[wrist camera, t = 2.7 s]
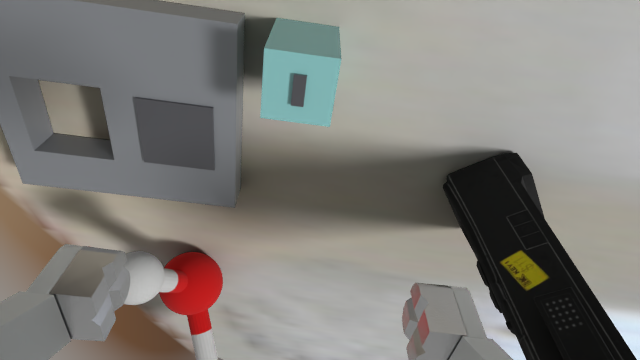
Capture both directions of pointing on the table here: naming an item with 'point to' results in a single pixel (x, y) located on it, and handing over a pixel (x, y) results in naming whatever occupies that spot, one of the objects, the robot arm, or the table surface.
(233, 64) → the outlet plate
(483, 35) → the table surface
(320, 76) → the block
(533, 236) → the portable radio
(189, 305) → the molecular model
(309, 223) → the table surface
